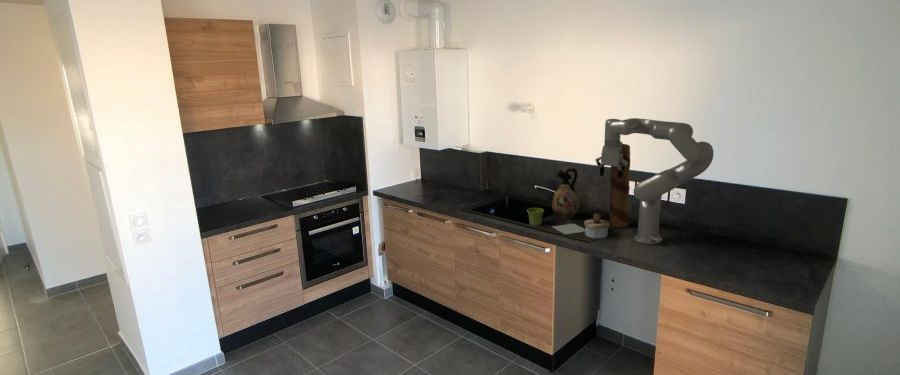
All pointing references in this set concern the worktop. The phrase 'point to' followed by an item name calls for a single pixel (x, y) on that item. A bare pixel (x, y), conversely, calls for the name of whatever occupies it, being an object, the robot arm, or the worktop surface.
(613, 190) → the wafer roll
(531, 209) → the plant pot
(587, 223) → the lid
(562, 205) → the ceramic jug
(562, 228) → the mat
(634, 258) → the worktop surface
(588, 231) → the bowl
